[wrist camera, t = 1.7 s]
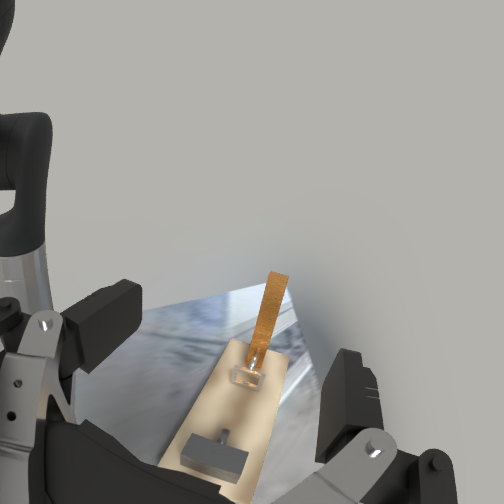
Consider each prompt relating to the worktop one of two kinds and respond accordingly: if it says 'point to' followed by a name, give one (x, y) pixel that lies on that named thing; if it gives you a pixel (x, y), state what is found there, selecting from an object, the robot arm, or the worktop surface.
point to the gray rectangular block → (214, 457)
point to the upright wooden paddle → (263, 330)
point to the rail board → (234, 417)
